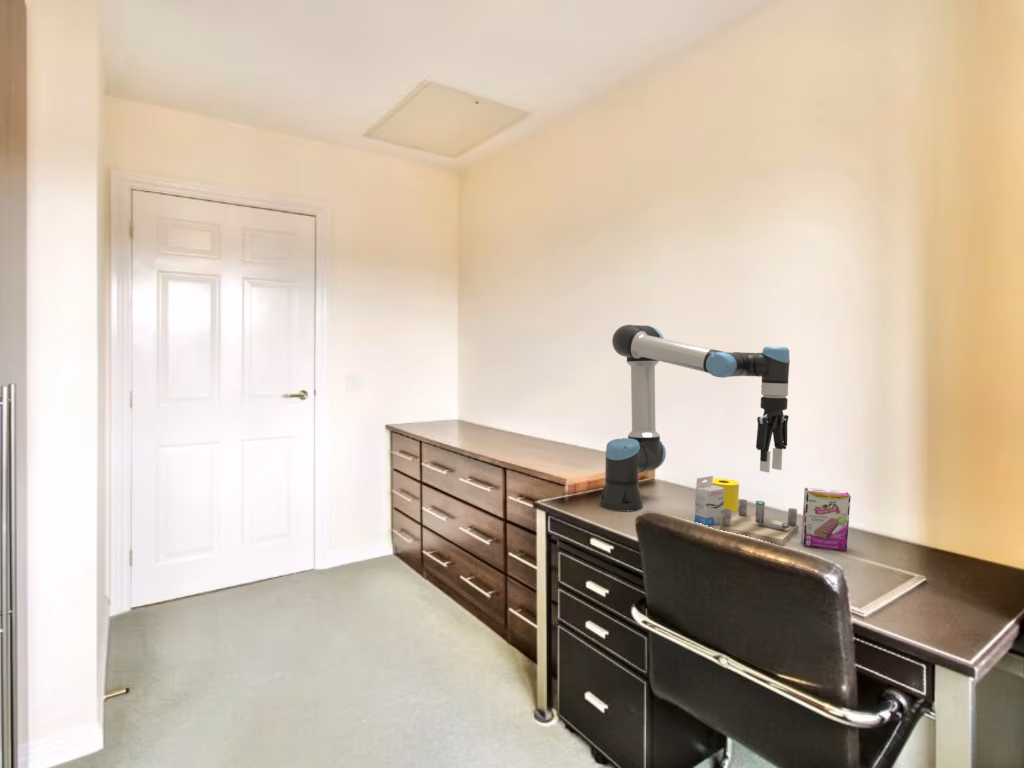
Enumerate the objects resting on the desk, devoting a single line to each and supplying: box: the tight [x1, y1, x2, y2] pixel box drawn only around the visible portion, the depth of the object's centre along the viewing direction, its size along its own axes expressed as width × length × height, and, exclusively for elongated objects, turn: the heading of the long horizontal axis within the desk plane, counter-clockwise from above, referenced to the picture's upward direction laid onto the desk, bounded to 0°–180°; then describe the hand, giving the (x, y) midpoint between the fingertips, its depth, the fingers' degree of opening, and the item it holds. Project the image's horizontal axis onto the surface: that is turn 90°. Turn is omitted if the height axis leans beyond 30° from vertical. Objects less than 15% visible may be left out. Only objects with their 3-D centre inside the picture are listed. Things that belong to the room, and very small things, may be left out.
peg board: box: [719, 498, 799, 547], centre depth 173 cm, size 18×18×7 cm
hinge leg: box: [754, 500, 789, 530], centre depth 170 cm, size 10×2×7 cm, turn 50°
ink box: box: [694, 475, 724, 527], centre depth 181 cm, size 8×5×15 cm, turn 123°
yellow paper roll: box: [712, 477, 740, 513], centre depth 199 cm, size 10×10×9 cm
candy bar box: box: [800, 487, 852, 552], centre depth 160 cm, size 11×5×16 cm, turn 71°
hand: (770, 470), depth 174 cm, fingers open, 6 cm apart
